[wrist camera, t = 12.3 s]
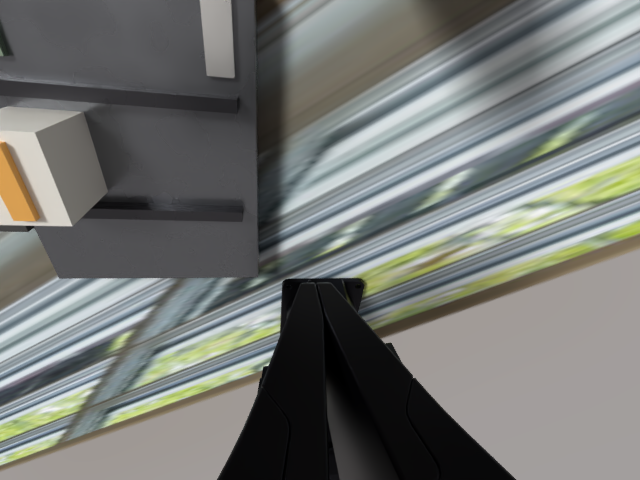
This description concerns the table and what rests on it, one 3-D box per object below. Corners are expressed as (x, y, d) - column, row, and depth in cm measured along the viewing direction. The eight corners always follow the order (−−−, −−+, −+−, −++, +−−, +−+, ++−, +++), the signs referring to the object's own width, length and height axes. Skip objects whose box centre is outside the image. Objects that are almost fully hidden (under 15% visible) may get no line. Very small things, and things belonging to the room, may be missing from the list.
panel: (259, 259, 22) (257, 285, 20) (76, 258, 20) (51, 287, 18) (256, -27, 14) (252, -39, 11) (-66, -76, 12) (-150, -103, 9)
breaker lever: (107, 191, 16) (68, 230, 13) (44, 189, 16) (-13, 228, 13) (83, 111, 14) (29, 134, 11) (7, 106, 14) (-72, 128, 10)
